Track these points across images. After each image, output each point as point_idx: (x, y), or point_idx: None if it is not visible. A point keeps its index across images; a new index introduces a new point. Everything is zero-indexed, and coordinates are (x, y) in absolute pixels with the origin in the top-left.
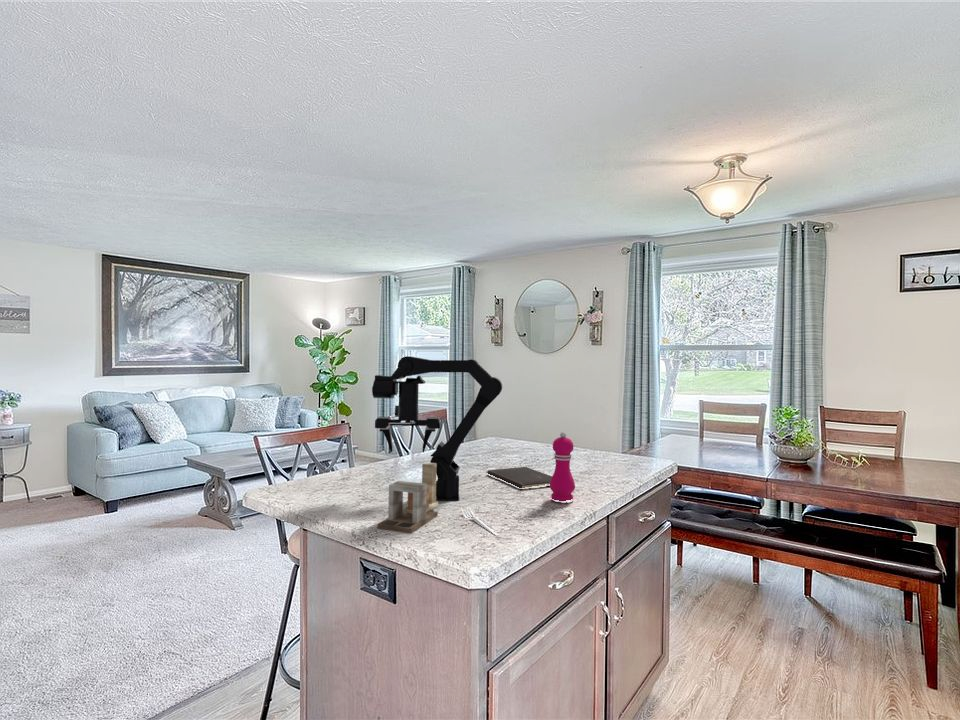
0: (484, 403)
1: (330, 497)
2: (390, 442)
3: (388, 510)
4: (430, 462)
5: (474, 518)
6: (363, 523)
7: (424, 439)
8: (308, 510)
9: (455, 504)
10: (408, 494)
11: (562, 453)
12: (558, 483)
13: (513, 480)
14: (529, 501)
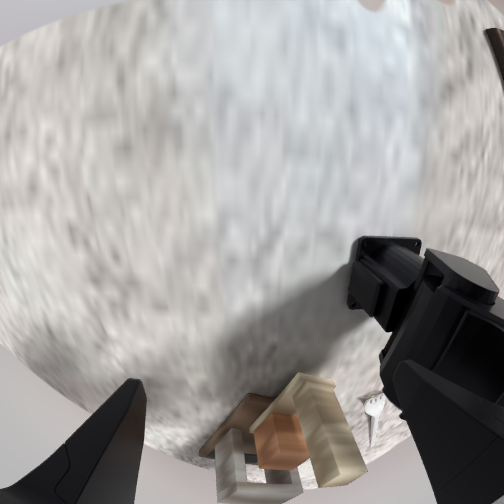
0: None
1: (11, 254)
2: (129, 484)
3: (215, 459)
4: (384, 394)
5: (373, 417)
6: (167, 435)
7: (428, 471)
8: (28, 357)
9: (382, 332)
10: (259, 459)
11: None
12: None
13: None
14: (498, 293)
